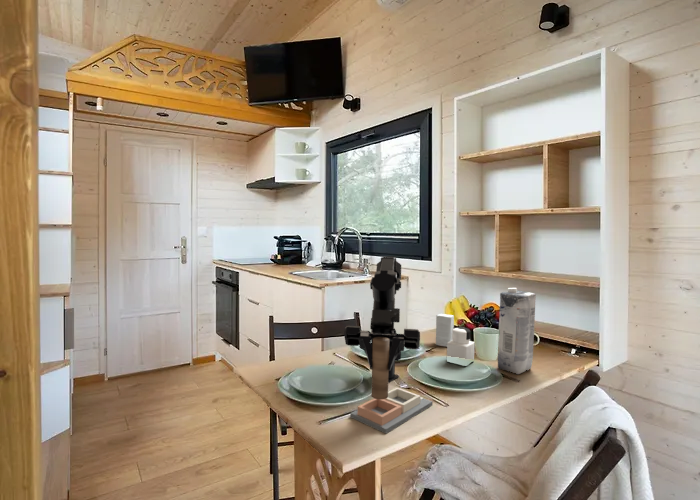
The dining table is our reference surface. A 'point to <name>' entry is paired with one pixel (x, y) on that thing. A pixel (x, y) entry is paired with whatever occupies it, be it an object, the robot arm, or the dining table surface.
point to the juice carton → (516, 330)
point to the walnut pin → (380, 367)
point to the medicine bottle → (461, 344)
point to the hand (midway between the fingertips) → (380, 369)
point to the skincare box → (444, 329)
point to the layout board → (391, 410)
